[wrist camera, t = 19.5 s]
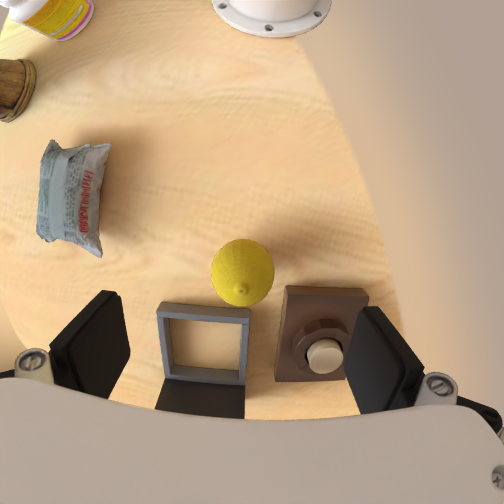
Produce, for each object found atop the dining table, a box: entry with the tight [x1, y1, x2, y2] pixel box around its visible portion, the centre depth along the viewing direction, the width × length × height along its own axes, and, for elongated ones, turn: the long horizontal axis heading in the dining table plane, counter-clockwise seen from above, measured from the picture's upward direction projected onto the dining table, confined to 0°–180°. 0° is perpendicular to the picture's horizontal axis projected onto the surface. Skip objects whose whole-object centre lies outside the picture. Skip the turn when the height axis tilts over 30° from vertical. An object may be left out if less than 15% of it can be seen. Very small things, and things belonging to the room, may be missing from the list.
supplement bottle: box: [0, 0, 94, 41], centre depth 13 cm, size 7×7×13 cm
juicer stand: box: [155, 302, 250, 419], centre depth 21 cm, size 16×11×25 cm
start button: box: [307, 338, 343, 374], centre depth 27 cm, size 4×4×2 cm
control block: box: [274, 286, 369, 382], centre depth 30 cm, size 12×9×4 cm
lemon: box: [211, 239, 274, 307], centre depth 25 cm, size 6×6×8 cm
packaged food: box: [36, 139, 113, 258], centre depth 24 cm, size 9×12×5 cm
